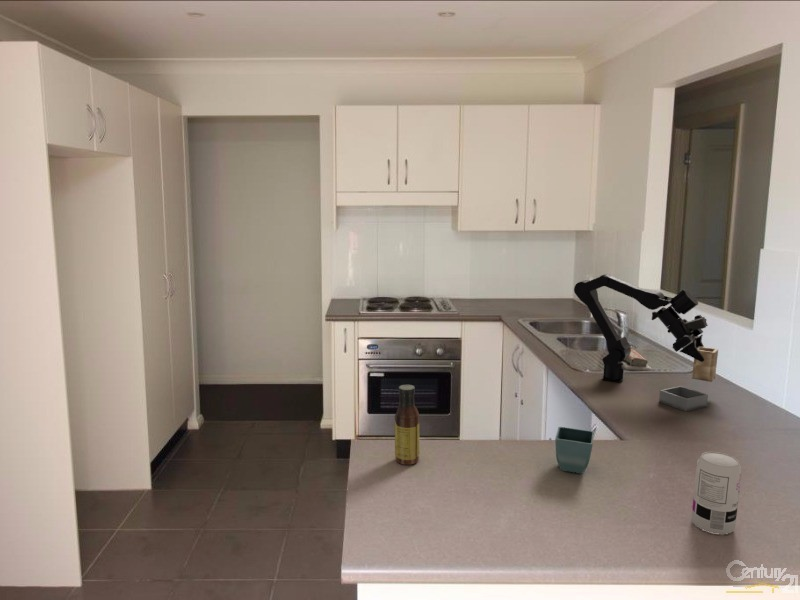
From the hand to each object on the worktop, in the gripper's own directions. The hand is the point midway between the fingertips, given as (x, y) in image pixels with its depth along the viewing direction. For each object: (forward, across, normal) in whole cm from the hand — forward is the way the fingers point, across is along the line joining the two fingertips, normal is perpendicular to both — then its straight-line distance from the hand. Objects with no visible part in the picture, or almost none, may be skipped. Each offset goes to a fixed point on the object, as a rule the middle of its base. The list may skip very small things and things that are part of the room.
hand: (705, 359), depth 212 cm
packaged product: (-12, +26, +32) cm, 43 cm away
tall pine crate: (+5, 0, +5) cm, 7 cm away
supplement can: (+24, -90, -5) cm, 93 cm away
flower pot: (0, -81, +19) cm, 83 cm away
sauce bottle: (-25, -104, +43) cm, 115 cm away
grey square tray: (+7, -13, +11) cm, 18 cm away
